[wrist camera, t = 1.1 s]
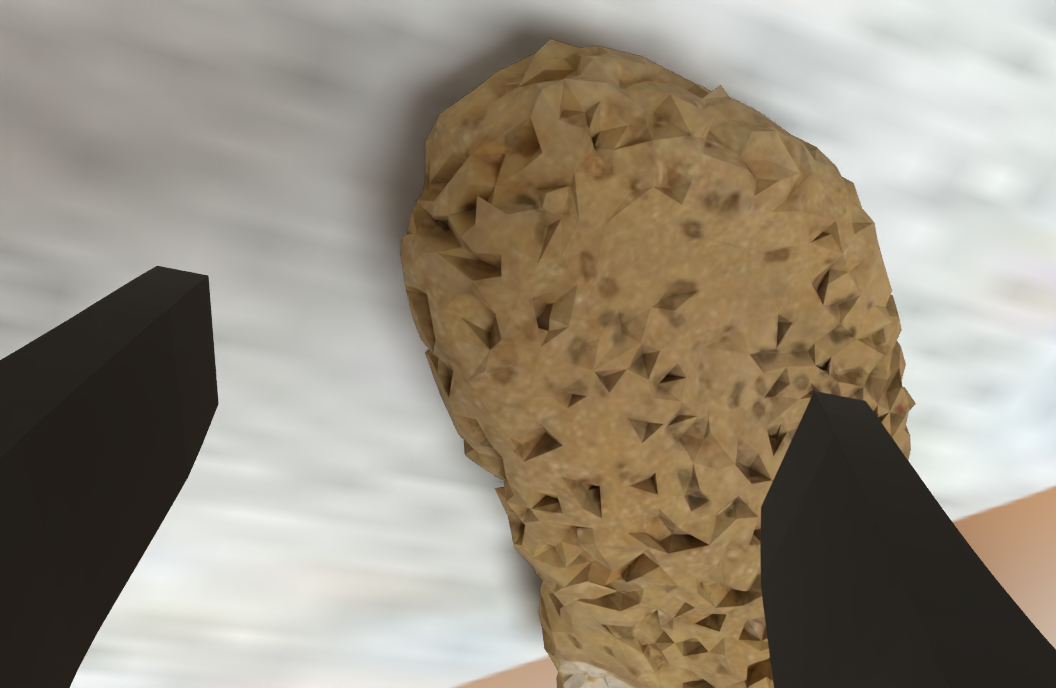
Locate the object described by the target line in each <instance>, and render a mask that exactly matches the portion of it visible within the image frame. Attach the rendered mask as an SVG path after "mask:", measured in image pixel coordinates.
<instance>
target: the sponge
mask: <svg viewBox="0 0 1056 688" xmlns="http://www.w3.org/2000/svg"><path fill="white" fill-rule="evenodd" d="M416 201H417V200H416ZM400 255H401V261H402V267H403V273H404V279H405V285H406V292H407V296H408V300H409V304H410V308H411V312H412V316H413V320H414V322H415V325H416V328H417V330H418V333H419V335H420V338H421V340H422V341H423V342H424V344H425V345H426V346H427V347H428V348H429V350H428V351H426V352H425V354H426V357H427V359H428V362H429V365H430V368H431V370H432V373H433V376H434V379H435V382H436V384H437V387H438V390H439V393H440V395H441V397H442V399H443V402H444V404H445V406H446V408H447V410H448V413H449V415H450V417H451V419H452V421H453V424H454V426H455V428H456V430H457V432H458V434H459V435H460V436H461V437H462V438H463V439H464V450H465V455H466V456H467V457H468V458H469V459H471V460H472V461H473V462H475V463H477V464H478V465H480V466H481V467H483V468H484V469H486V470H488V471H489V472H491V473H493V474H494V475H496V476H497V477H499V478H501V479H502V480H504V487H500V488H495V490H496V492H497V494H498V496H499V498H500V500H501V502H502V505H503V507H504V509H505V511H506V513H507V515H508V519H509V524H510V528H511V533H512V538H513V543H514V547H515V549H516V550H517V551H518V552H519V553H520V554H521V555H522V556H523V557H524V558H525V559H526V560H527V561H528V562H529V563H530V564H531V565H532V566H533V567H534V568H535V571H536V574H537V575H538V576H540V578H541V579H542V580H543V582H542V585H541V588H540V600H539V616H540V621H541V626H542V631H543V640H544V649H545V650H546V652H547V653H548V655H549V656H550V658H551V660H552V661H553V663H554V665H555V666H556V668H557V670H558V675H557V688H774V684H773V677H772V669H771V662H770V654H769V647H768V639H767V631H766V623H765V615H764V607H763V599H762V590H761V559H760V542H761V506H762V504H763V502H764V499H765V497H766V495H767V493H768V491H769V489H770V486H771V484H772V482H773V480H774V478H775V475H776V473H777V471H778V469H779V467H780V465H781V462H782V460H783V458H784V456H785V454H786V451H787V449H788V447H789V445H790V443H791V441H792V438H793V436H794V434H795V432H796V430H797V428H798V425H799V423H800V421H801V419H802V417H803V414H804V412H805V410H806V408H807V406H808V404H809V401H810V399H811V397H812V395H813V393H814V391H817V392H822V393H827V394H833V395H838V396H843V397H848V398H854V399H859V400H864V401H866V402H867V403H868V405H869V406H870V407H871V409H872V410H873V411H874V413H875V414H876V415H877V417H878V418H879V420H880V421H881V422H882V424H883V425H884V427H885V428H886V430H887V431H888V432H889V434H890V435H891V437H892V438H893V440H894V441H895V442H896V444H897V445H898V447H899V448H900V450H901V451H902V452H903V454H904V455H905V457H906V458H907V460H908V459H909V455H910V450H911V448H910V435H909V432H908V429H907V426H906V422H907V417H908V412H909V410H910V409H911V408H912V407H913V406H914V405H915V404H916V403H915V402H914V400H913V399H912V397H911V396H910V394H909V393H908V391H907V390H906V388H905V387H902V382H901V380H902V376H903V373H904V369H905V365H906V364H905V360H904V357H903V353H902V350H901V346H900V345H899V343H898V342H897V339H898V337H899V334H900V332H901V325H900V320H899V315H898V312H897V308H896V305H895V302H894V298H893V295H890V294H891V292H892V289H891V286H890V282H889V279H888V276H887V272H886V269H885V266H884V262H883V259H882V255H881V251H880V248H879V244H878V240H877V235H876V229H875V224H874V222H873V220H872V219H871V218H870V217H869V216H868V215H867V214H866V212H865V211H864V210H863V209H862V207H861V204H860V201H859V198H858V195H857V192H856V189H855V186H854V183H853V182H851V181H849V180H847V179H845V178H843V177H842V176H841V175H840V173H839V171H838V169H837V167H836V166H835V165H834V164H833V163H832V162H831V161H830V160H829V159H828V158H827V157H826V156H825V155H824V154H823V153H822V152H821V151H820V150H819V149H818V148H817V147H815V146H813V145H811V144H809V143H807V142H805V141H803V140H801V139H799V138H797V137H795V136H793V135H791V134H790V133H788V132H787V131H785V130H784V129H782V128H781V127H780V126H778V125H777V124H775V123H774V122H773V121H771V120H770V119H768V118H767V117H766V116H764V115H763V114H761V113H760V112H758V111H757V110H755V109H753V108H751V107H749V106H747V105H745V104H743V103H741V102H739V101H737V100H735V99H733V98H731V97H729V96H728V95H727V93H726V92H725V91H724V89H723V88H722V87H721V85H720V86H719V87H718V88H716V89H715V90H714V91H712V92H711V91H709V90H708V89H706V88H704V87H702V86H700V85H697V84H695V83H693V82H691V81H689V80H687V79H685V78H683V77H681V76H679V75H677V74H675V73H673V72H671V71H669V70H667V69H665V68H663V67H661V66H659V65H658V64H656V63H654V62H652V61H650V60H648V59H646V58H644V57H642V56H638V55H634V54H630V53H626V52H621V51H617V50H613V49H609V48H605V47H601V46H591V47H581V48H578V47H575V46H572V45H569V44H566V43H562V42H559V41H556V40H553V39H550V40H549V41H548V42H547V43H546V44H545V45H544V46H543V47H542V48H541V49H540V50H538V51H537V52H536V53H535V54H533V55H531V56H529V57H527V58H524V59H522V60H520V61H518V62H516V63H514V64H512V65H510V66H508V67H506V68H503V69H501V70H499V71H497V72H496V73H495V74H494V75H492V76H491V77H490V78H488V79H487V80H486V81H485V82H483V83H482V84H481V85H480V86H478V87H477V88H476V89H475V90H473V91H472V92H470V93H469V94H468V95H466V96H465V97H463V98H462V99H460V100H459V101H457V102H456V103H454V104H453V105H452V106H450V107H449V108H447V109H446V110H444V111H443V112H441V113H440V114H439V115H438V117H437V119H436V121H435V123H434V125H433V127H432V129H431V132H430V134H429V136H428V138H427V140H426V142H425V183H424V190H423V192H422V194H421V196H420V198H419V199H418V201H417V203H416V205H415V206H414V208H413V210H412V213H411V217H410V222H409V226H408V232H407V235H405V236H402V242H401V252H400Z"/></svg>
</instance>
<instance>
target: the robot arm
mask: <svg viewBox="0 0 1056 688" xmlns="http://www.w3.org/2000/svg"><path fill="white" fill-rule="evenodd" d="M217 406H218V393H217V380H216V367H215V354H214V342H213V329H212V316H211V303H210V290H209V278H208V275H202V274H197V273H192V272H187V271H181V270H176V269H171V268H166V267H160V266H156V267H154V268H153V269H151V270H149V271H147V272H146V273H144V274H142V275H140V276H139V277H137V278H135V279H134V280H132V281H130V282H129V283H127V284H125V285H124V286H122V287H121V288H119V289H117V290H116V291H114V292H112V293H111V294H109V295H108V296H106V297H104V298H103V299H101V300H100V301H98V302H96V303H95V304H93V305H92V306H90V307H88V308H87V309H85V310H83V311H82V312H80V313H79V314H77V315H75V316H74V317H72V318H70V319H69V320H67V321H65V322H64V323H62V324H60V325H59V326H57V327H55V328H54V329H52V330H50V331H49V332H47V333H45V334H44V335H42V336H40V337H39V338H37V339H35V340H34V341H32V342H30V343H29V344H27V345H25V346H24V347H22V348H20V349H19V350H17V351H15V352H14V353H12V354H10V355H9V356H7V357H5V358H3V359H2V360H0V688H70V686H71V683H72V681H73V679H74V677H75V675H76V672H77V670H78V668H79V666H80V664H81V662H82V661H83V659H84V657H85V655H86V653H87V651H88V649H89V647H90V646H91V644H92V642H93V640H94V638H95V636H96V634H97V632H98V631H99V629H100V627H101V626H102V624H103V622H104V620H105V619H106V617H107V615H108V614H109V612H110V610H111V609H112V607H113V605H114V603H115V602H116V600H117V598H118V597H119V595H120V593H121V591H122V590H123V588H124V586H125V585H126V583H127V581H128V580H129V578H130V576H131V574H132V573H133V571H134V569H135V568H136V566H137V564H138V563H139V561H140V559H141V557H142V556H143V554H144V552H145V551H146V549H147V547H148V546H149V544H150V542H151V540H152V539H153V537H154V535H155V534H156V532H157V530H158V529H159V527H160V525H161V523H162V522H163V520H164V518H165V516H166V515H167V513H168V511H169V509H170V508H171V506H172V504H173V503H174V501H175V499H176V497H177V496H178V494H179V492H180V490H181V489H182V487H183V485H184V483H185V481H186V480H187V478H188V476H189V474H190V472H191V469H192V467H193V465H194V462H195V460H196V458H197V455H198V453H199V451H200V448H201V446H202V444H203V441H204V439H205V436H206V434H207V431H208V429H209V426H210V424H211V421H212V419H213V416H214V414H215V411H216V409H217ZM760 559H761V590H762V599H763V607H764V615H765V623H766V631H767V639H768V647H769V654H770V662H771V669H772V677H773V684H774V688H1056V650H1055V648H1054V647H1053V646H1052V645H1051V644H1050V643H1049V642H1048V641H1047V639H1046V638H1045V637H1044V636H1043V635H1042V634H1041V633H1040V631H1039V630H1038V629H1037V628H1036V627H1035V626H1034V625H1033V623H1032V622H1031V621H1030V620H1029V618H1028V617H1027V616H1026V615H1025V614H1024V613H1023V611H1022V610H1021V609H1020V608H1019V606H1018V605H1017V604H1016V603H1015V602H1014V601H1013V599H1012V598H1011V597H1010V595H1009V594H1008V593H1007V592H1006V591H1005V590H1004V588H1003V587H1002V586H1001V585H1000V583H999V582H998V581H997V580H996V579H995V577H994V576H993V575H992V574H991V572H990V571H989V570H988V568H987V567H986V566H985V565H984V564H983V562H982V561H981V559H980V558H979V557H978V556H977V554H976V553H975V552H974V551H973V549H972V548H971V546H970V545H969V544H968V543H967V541H966V540H965V539H964V537H963V536H962V535H961V533H960V532H959V531H958V529H957V528H956V527H955V525H954V524H953V522H952V521H951V520H950V518H949V517H948V516H947V514H946V513H945V512H944V510H943V509H942V507H941V506H940V505H939V503H938V502H937V501H936V499H935V498H934V496H933V495H932V494H931V492H930V491H929V489H928V488H927V487H926V485H925V484H924V482H923V481H922V480H921V478H920V477H919V475H918V474H917V472H916V471H915V470H914V468H913V467H912V465H911V464H910V463H909V461H908V460H907V458H906V457H905V455H904V454H903V452H902V451H901V450H900V448H899V447H898V445H897V444H896V442H895V441H894V440H893V438H892V437H891V435H890V434H889V432H888V431H887V430H886V428H885V427H884V425H883V424H882V422H881V421H880V420H879V418H878V417H877V415H876V414H875V413H874V411H873V410H872V409H871V407H870V406H869V405H868V403H867V402H866V401H864V400H859V399H854V398H848V397H843V396H838V395H833V394H827V393H822V392H817V391H814V393H813V395H812V397H811V399H810V401H809V404H808V406H807V408H806V410H805V412H804V414H803V417H802V419H801V421H800V423H799V425H798V428H797V430H796V432H795V434H794V436H793V438H792V441H791V443H790V445H789V447H788V449H787V451H786V454H785V456H784V458H783V460H782V462H781V465H780V467H779V469H778V471H777V473H776V475H775V478H774V480H773V482H772V484H771V486H770V489H769V491H768V493H767V495H766V497H765V499H764V502H763V504H762V506H761V542H760Z"/></svg>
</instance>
